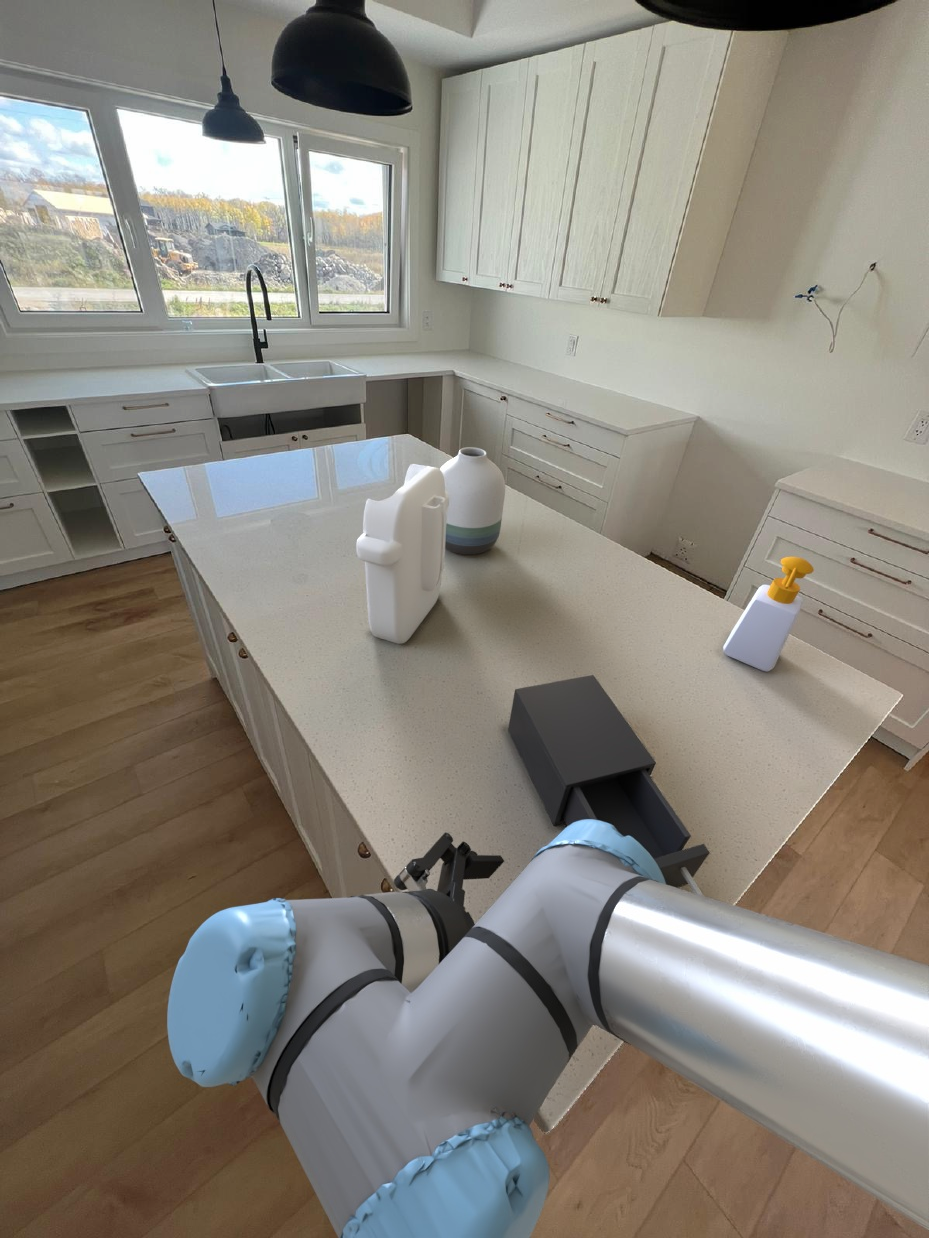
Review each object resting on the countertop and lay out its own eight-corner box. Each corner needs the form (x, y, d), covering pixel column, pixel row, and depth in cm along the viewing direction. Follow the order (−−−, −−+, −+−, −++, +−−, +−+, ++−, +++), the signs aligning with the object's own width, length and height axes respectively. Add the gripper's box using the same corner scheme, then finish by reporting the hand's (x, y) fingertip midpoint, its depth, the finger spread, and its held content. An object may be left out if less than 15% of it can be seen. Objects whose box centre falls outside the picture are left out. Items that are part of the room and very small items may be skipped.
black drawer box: (637, 803, 75) (656, 762, 70) (553, 826, 72) (566, 785, 66) (581, 714, 88) (593, 674, 83) (507, 730, 85) (515, 688, 79)
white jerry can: (409, 665, 95) (410, 518, 77) (356, 648, 98) (344, 502, 80) (461, 589, 116) (471, 459, 98) (416, 577, 119) (417, 448, 100)
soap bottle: (713, 665, 101) (760, 569, 87) (731, 632, 110) (776, 540, 97) (764, 688, 97) (822, 591, 83) (779, 652, 106) (833, 558, 92)
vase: (505, 559, 128) (518, 466, 113) (437, 562, 125) (441, 466, 110) (490, 527, 141) (499, 439, 126) (428, 529, 138) (431, 439, 123)
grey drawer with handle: (718, 931, 61) (744, 902, 56) (628, 965, 58) (648, 936, 53) (620, 776, 78) (634, 743, 73) (545, 795, 74) (555, 762, 70)
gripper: (309, 844, 45) (446, 848, 61) (460, 1207, 29) (593, 1083, 45) (362, 782, 44) (487, 803, 61) (548, 1120, 28) (651, 1026, 45)
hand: (533, 923), depth 53 cm, fingers open, 13 cm apart
